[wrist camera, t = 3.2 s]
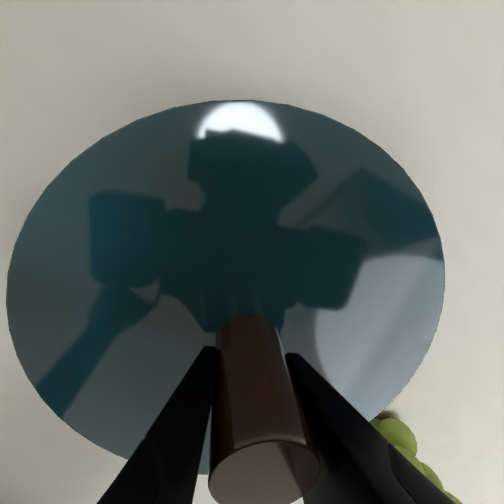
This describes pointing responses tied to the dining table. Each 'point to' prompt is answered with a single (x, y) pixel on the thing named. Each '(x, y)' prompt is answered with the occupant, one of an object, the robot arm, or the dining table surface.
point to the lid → (225, 283)
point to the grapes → (407, 447)
